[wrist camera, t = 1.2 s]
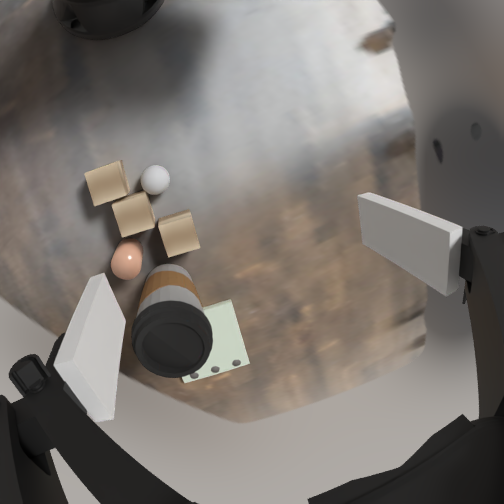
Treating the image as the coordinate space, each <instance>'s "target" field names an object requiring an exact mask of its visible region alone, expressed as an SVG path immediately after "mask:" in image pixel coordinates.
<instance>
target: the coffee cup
mask: <svg viewBox="0 0 504 504" xmlns="http://www.w3.org/2000/svg"><path fill="white" fill-rule="evenodd" d="M131 338H132V346H133V349H134V352H135V354H136V355H137V357H138V359H139V361H140V362H141V364H142V365H143V366H144V367H145V368H146V369H148V370H149V371H150V372H152V373H154V374H156V375H159V376H163V377H168V378H178V377H185V376H187V375H190V374H193V373H194V372H196V371H197V370H199V369H200V368H201V367H202V366H203V365H204V364H205V363H206V361H207V359H208V357H209V355H210V352H211V350H212V345H213V333H212V326H211V324H210V322H209V320H208V318H207V317H206V316H205V314H204V311H203V306H202V303H201V301H200V298H199V296H198V293H197V290H196V288H195V286H194V284H193V282H192V279H191V277H190V275H189V273H188V272H187V271H186V270H185V269H184V268H182V267H181V266H178V265H175V264H162V265H160V266H157V267H156V268H154V269H153V270H152V271H151V272H150V273H149V275H148V277H147V279H146V282H145V285H144V288H143V291H142V295H141V298H140V302H139V306H138V313H137V317H136V319H135V321H134V323H133V326H132V336H131Z"/></svg>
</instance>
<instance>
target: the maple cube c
mask: <svg viewBox="0 0 504 504" xmlns="http://www.w3.org/2000/svg"><path fill="white" fill-rule="evenodd" d="M158 227H159V230H160V233H161V237H162V240H163V243H164V246H165V249H166V252H167V255H168V258H169V257H172V256H175V255H178V254H182V253H185V252H188V251H192V250H195V249H198V248H200V245H199V241H198V238H197V234H196V231H195V227H194V224H193V220H192V217H191V213H190V210H189V209H188V210H185V211H182V212H178V213H175V214H172V215H168V216H165V217H162V218H159V224H158Z"/></svg>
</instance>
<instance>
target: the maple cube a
mask: <svg viewBox="0 0 504 504" xmlns="http://www.w3.org/2000/svg"><path fill="white" fill-rule="evenodd" d="M84 174H85V177H86V181H87V184H88V187H89V191H90V194H91V197H92V200H93V203H94V206H97V205H100V204H103V203H106V202H109V201H112V200H114V199H117V198H120V197H123V196H126V195H127V194H128V193H129V191H130V188H129V184H128V181H127V177H126V174H125V170H124V167H123V163H122V160H120V161H117V162H114V163H111V164H108V165H105V166H103V167H100V168H97V169H94V170H92V171H89V172H87V173H84Z"/></svg>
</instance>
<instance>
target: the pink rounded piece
mask: <svg viewBox="0 0 504 504" xmlns="http://www.w3.org/2000/svg"><path fill="white" fill-rule="evenodd" d="M142 258H143V247H142V245H141V243H140V242H139V241H138V240H136V239H134V238H126V239H123V240H122V241H121V242H120V243H119V244H118V246H117V248H116V251H115V253H114V256H113V258H112V261H111V268H112V271H113V273H114V274H115V275H116V276H117V277H119V278H121V279H124V280H129V279H132V278H134V277H136V276H137V275H138V274H139V272H140V269H141V263H142Z"/></svg>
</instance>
